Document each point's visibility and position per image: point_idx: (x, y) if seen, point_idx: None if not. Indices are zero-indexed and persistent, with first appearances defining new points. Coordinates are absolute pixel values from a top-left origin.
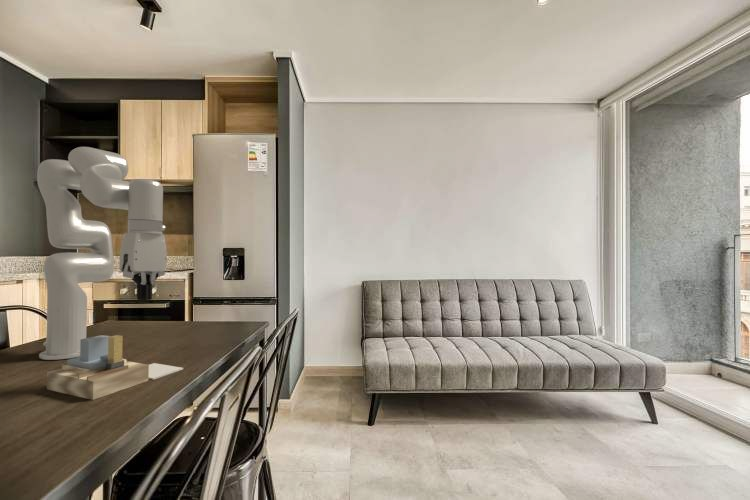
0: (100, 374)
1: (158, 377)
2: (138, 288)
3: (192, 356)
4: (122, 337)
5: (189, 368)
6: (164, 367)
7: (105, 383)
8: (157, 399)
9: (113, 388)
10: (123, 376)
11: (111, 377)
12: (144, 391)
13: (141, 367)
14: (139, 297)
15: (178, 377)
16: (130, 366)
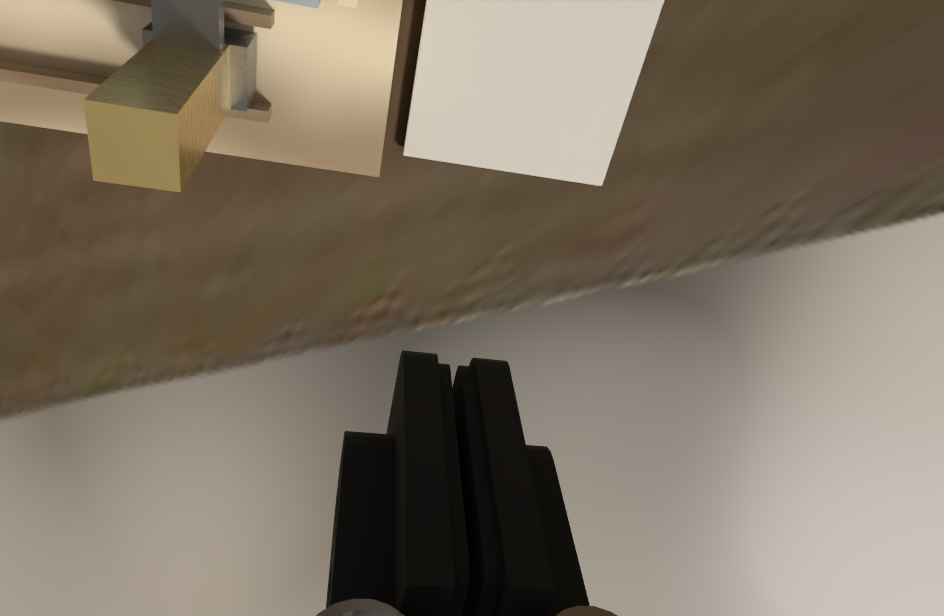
0: (67, 87)
1: (435, 157)
2: (330, 576)
3: (903, 38)
4: (181, 187)
5: (632, 191)
6: (598, 69)
7: None
8: (212, 334)
9: None
10: None
11: None
12: (260, 221)
13: (326, 168)
14: (394, 412)
15: (479, 235)
16: (309, 94)
